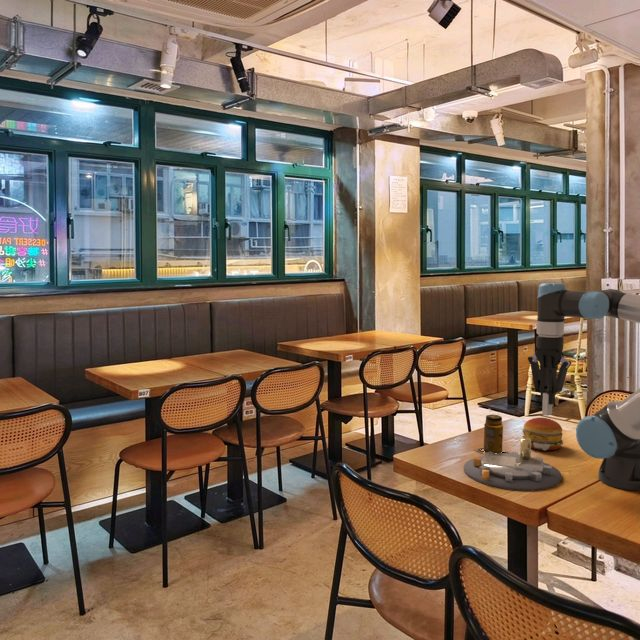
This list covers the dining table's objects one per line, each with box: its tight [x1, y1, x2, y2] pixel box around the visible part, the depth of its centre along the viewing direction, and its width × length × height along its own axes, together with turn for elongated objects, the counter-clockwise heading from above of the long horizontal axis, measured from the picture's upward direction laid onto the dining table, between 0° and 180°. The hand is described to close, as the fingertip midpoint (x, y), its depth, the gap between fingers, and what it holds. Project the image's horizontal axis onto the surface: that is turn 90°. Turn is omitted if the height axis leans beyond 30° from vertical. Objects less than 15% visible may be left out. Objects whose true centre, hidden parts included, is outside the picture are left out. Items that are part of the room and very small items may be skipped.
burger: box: [521, 417, 564, 451], centre depth 212 cm, size 13×14×10 cm
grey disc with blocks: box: [473, 437, 553, 482], centre depth 186 cm, size 22×22×8 cm
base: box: [463, 455, 563, 491], centre depth 186 cm, size 28×28×4 cm
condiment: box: [474, 414, 508, 455], centre depth 207 cm, size 7×8×12 cm
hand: (547, 414), depth 184 cm, fingers closed
